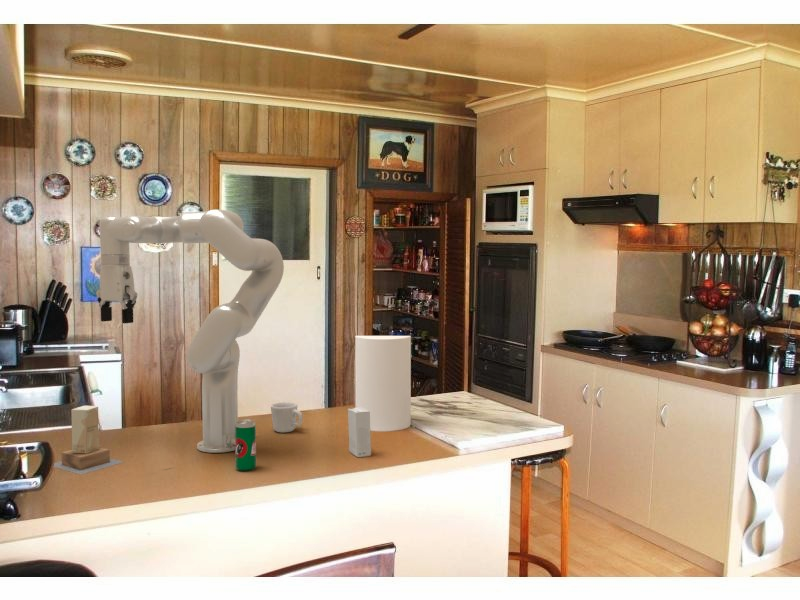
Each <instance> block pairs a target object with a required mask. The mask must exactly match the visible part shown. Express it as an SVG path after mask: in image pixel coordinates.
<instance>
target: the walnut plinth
mask: <svg viewBox="0 0 800 600" xmlns="http://www.w3.org/2000/svg"><path fill="white" fill-rule="evenodd" d="M110 452H111V451H110V449H109V448H105V447H100V446H99V449H97V450H95V451H92V452H89V453H87V454H86V453H72V449H69V450H65V451H62V452H61V453H60V454H61V461H62V465H64V466H68V467H71V468H75V469H78V470H83V469H87V468H90V467H94V466H98V465H101V464H105V463H108V462H110V455H111V454H110Z"/></svg>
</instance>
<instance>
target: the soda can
mask: <svg viewBox="0 0 800 600" xmlns="http://www.w3.org/2000/svg"><path fill="white" fill-rule="evenodd" d="M236 423H237V424H236V426H235V450H234V452H235V468H236V470H237V471H239V472H250V471H253V470H255V469H256V467H257V425H256V423H255V421H254V420H252V419H241V420H239V419H238V421H237V422H236Z"/></svg>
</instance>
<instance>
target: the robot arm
mask: <svg viewBox="0 0 800 600" xmlns="http://www.w3.org/2000/svg"><path fill="white" fill-rule="evenodd" d="M99 240H100V241H99V244H100V246H99V247H100V272H99V273H100V275H99V288H98V289H97V290H96V291H95V295H96V298H97V303H98V305H99V306H98V307H99V308H100V321H101V322H111V321H112V320H113V306H111V305H112V303H114V302H115V303H120V304H121V306H122V308H121V320H122V321H121V323H122V324H125V325H126V324H133V323H134V309H135V305H136V303H137V298H138V293H137V292H136V290H135V282H134V281H135V279H134V275H133V269H132V266H131V263H130V262H131V259H130V244H169V243H170V244H171V243H172V244H173V243H182V244H207V243H208V244H209V245H210V246H212V248H214V249H215V250H216V251H217V252H218V253H219V254H220V255H221V256H222V257H224V259H226V260H227V262H229V263H230V264H231V265H232V266H234V267H235V268H237V269H238V270H241V271H244V272H246V271H247V272H250V271H251V272H250V274H249V276H248V277H247V278H245V280H244V282H243V283H242V284H241V286H240V288H239V290H238V291H237V292H236V294H235V296H234V297H233V299H232V300H231V301H229V302H227V303H223V304H220V305H217V306H216V307H214V308H213V309H212V310H211V311H210V313H208V315H207V317H206V318H205V320H203V322H202V324H201V325H200V328H199V329H198V331H197V332H196V333H195V335H194V336H193V339H192V340H191V342H190V344H189V346H188V348H187V352H186V360H187V364H188V366H189V367H190V368H191V370H193V371H194V372H196V373H199V374H202V380H201V405H202V406H201V412H202V418H201V419H202V440H201V441H199V442H197V444H196V446H197V447H196V449H197V450H198V451H200V452H203V453H210V454H212V453H214V454H216V453H217V454H218V453H220V454H221V453H229V452H235V426H236V424H237V423H236V422H237V421H239V410H238V408H239V407H238V406H239V405H238V403H239V402H238V390H239V389H238V386H239V384H238V375H239V374H238V373H239V366H240V365H239V363H240V355H241V354H240V352H241V351H240V350H241V349H240V346H239V344H238V341H237V338H241V337H244V336H246V335H248V334H249V333H250V332H251V331H252V330H253V329H254V327H255V326H256V323H257V322H258V321H259V318H260V317H261V315H262V314H263V313H264V311H265V309H266V308H267V306H268V304H269V302H270V301H271V299H272V297H273V296H274V295H275V292H276V291H277V289H278V288H279V286H280V284H281V282H282V279H283V276H284V272H285V271H284V270H285V269H284V268H285V266H284V259H283V256H282V254H281V251H280V250H279V248H278V247H277V245H275V244H274V243H273V242H272V241H270V240H268V239H264V238H254V237H253V238H251V237H250V236H249V235H248V234H246V232H244V222H243V219H242V218H241V217H240V215H238V214H237V213H236V212H235V211H234V212H233V211H231V210H225V209H215V208H214V209H210V210H207V211H186V212H183V213H181V214H180V215H175V216H143V215H129V216H104V217H102V218H100V221H99Z"/></svg>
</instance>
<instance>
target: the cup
mask: <svg viewBox="0 0 800 600" xmlns="http://www.w3.org/2000/svg"><path fill="white" fill-rule="evenodd" d="M270 412H271V420H272V428H273V430H274V431H275V432H276V433H281V434H282V433H291V432H293V431H294V430H295V429H296V427H298V426H301V424H302V423H303V413H302V412H301V411H300V410H298V403H296V402H291V401H290V402H289V401H281V402H275V403H272V404H271V405H270ZM297 416H298V421H297Z"/></svg>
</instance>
